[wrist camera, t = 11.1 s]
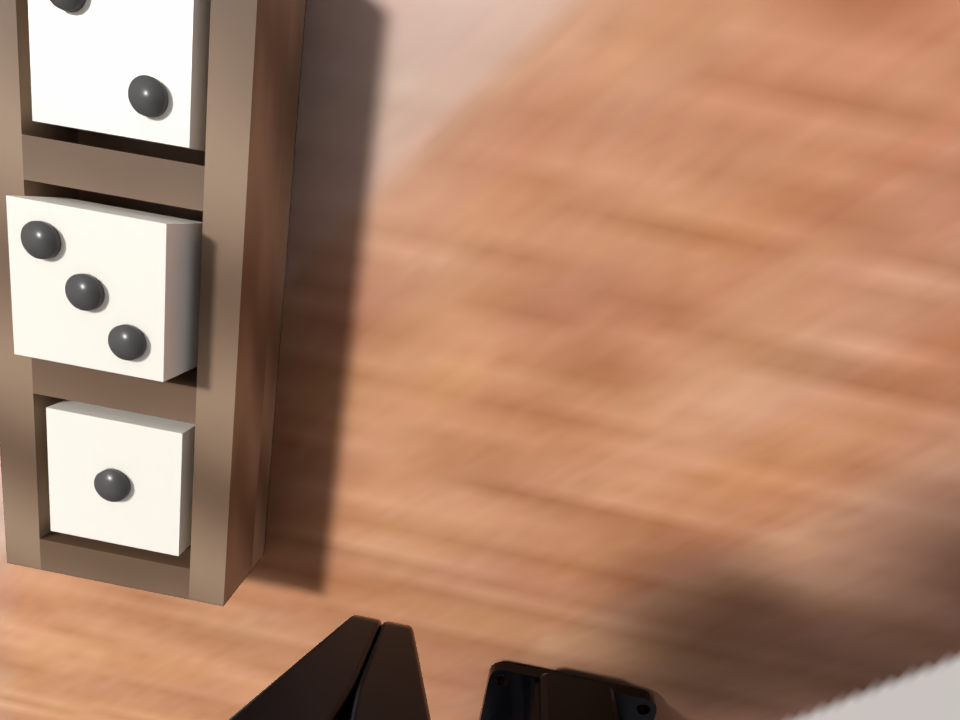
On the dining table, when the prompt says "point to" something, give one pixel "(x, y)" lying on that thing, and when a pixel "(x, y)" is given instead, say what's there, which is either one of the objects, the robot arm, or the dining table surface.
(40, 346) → the tile three
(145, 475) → the tile one
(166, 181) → the button board
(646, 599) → the dining table surface
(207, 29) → the tile two
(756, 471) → the dining table surface
